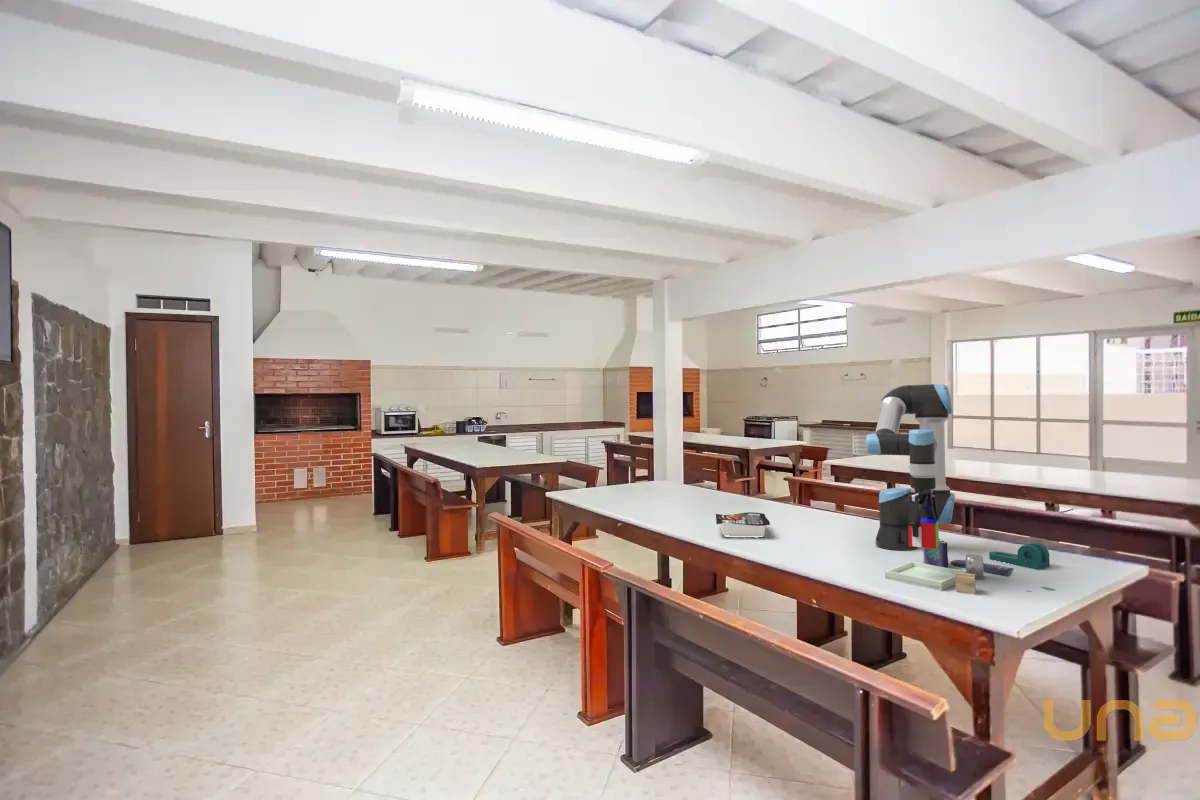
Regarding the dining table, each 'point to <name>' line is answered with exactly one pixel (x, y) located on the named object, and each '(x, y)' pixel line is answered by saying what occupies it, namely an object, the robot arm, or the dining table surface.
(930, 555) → the flask
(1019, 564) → the bracket
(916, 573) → the tray
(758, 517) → the food packaging
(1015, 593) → the dining table surface
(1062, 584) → the dining table surface
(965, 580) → the oak block
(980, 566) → the grey canister
